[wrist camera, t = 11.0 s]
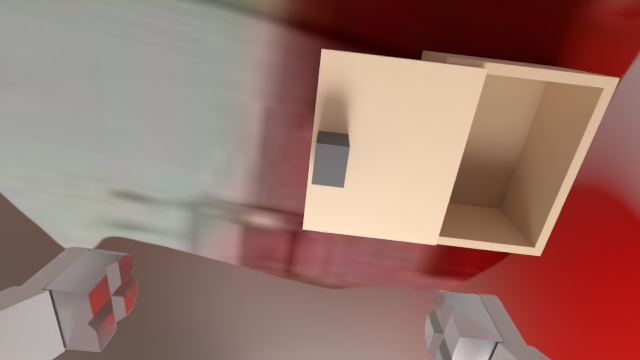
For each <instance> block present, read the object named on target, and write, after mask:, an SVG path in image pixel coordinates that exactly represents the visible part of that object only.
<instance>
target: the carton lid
mask: <svg viewBox="0 0 640 360" xmlns="http://www.w3.org/2000/svg"><path fill="white" fill-rule="evenodd" d="M487 70H488V69H486V68H480V67H472V66H463V65H455V64H447V63H438V62H430V61H422V60H413V59H405V58H397V57H388V56H380V55H372V54H364V53H355V52H347V51H339V50H330V49H322V51H321V61H320V70H319V80H318V89H317V99H316V108H315V118H314V127H313V137H312V146H311V156H310V165H309V175H308V184H307V194H306V203H305V213H304V223H303V229H304V230H313V231H321V232H329V233H338V234H346V235H355V236H363V237H372V238H380V239H388V240H397V241H405V242H414V243H422V244H431V245H436V244H437V240H438V237H439V233H440V230H441V227H442V223H443V220H444V216H445V213H446V210H447V206H448V203H449V199H450V196H451V193H452V189H453V186H454V182H455V179H456V176H457V172H458V169H459V165H460V162H461V159H462V155H463V152H464V148H465V145H466V142H467V138H468V135H469V132H470V128H471V125H472V121H473V118H474V115H475V111H476V108H477V104H478V101H479V98H480V94H481V91H482V87H483V84H484V81H485V77H486V74H487Z"/></svg>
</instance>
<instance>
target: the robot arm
mask: <svg viewBox="0 0 640 360" xmlns="http://www.w3.org/2000/svg"><path fill="white" fill-rule="evenodd" d="M134 267H135V264H134V259H133V256H131V255H130V254H127V253H120V252H113V251H105V250H98V249H89V248H82V247H70V248H67V249H66V250H65V251H63V252H62V253H61V254H60V255H59V256H57V257H56V258H55V259H54V260H53V261H51V262H50V263H49V264H48V265H46V266H45V267H44V268H43V269H41V270H40V271H39V272H38V273H37V274H36V275H34V276H33V277H32V278H31V279H29V280H28V281H27V282H26V283H24V284H23V285H22V286H21V287H11V288H8V289H6V290H3V291H0V360H52V359H53V358H55V357H56V356H58V355H59V354H61V353H62V352H64V351H65V349H72V350H83V351H95V352H101V351H102V349H103V348H104V346H105V345H106V344H107V342H108V341H109V339H110V338H111V337H112V335H113V334H114V333H115V331H116V323H115V322H117V321H119V320H120V319H122V318H124V317H126V316H127V315H128V313H129V312H130V310H131V309H132V307H133V305H134V302H135V299H136V297H137V288H138V287H137V280H136V279H135V278H134V277H133V276H132V274H131V273H130V272H131V271H132V270H133V268H134ZM432 302H433V305H434V308H435V309H434V310H433V311H432V312H430V313H429V314H428V316H427V320H426V324H425V339H426V344H427V348H428V351H429V352H430V353H431V354H432V355H433V356H434V357H435V360H550V359H549V358H548V357H546V356H545V355H544V354H542V353H541V352H540V351H538V350H537V349H536V348H534V347H533V346H527V345H526V343H525V342H524V340H523V339H522V337H521V335H520V333H519V332H518V330H517V328H516V327H515V325H514V324H513V322H512V320H511V319H510V317H509V315H508V313H507V312H506V310H505V308H504V307H503V305H502V303H501V302H500V300H499V299H498V298H497V297H496V296H495V295H487V294H476V293H475V294H471V293H461V292H453V291H444V290H437V291H436V293H435V294H434V297H433V300H432Z"/></svg>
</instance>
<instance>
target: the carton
mask: <svg viewBox="0 0 640 360" xmlns="http://www.w3.org/2000/svg"><path fill="white" fill-rule="evenodd" d="M421 60H422V61H430V62H438V63H447V64H455V65H463V66H472V67H480V68H486V69H488V70H487V74H486V77H485V81H484V84H483V87H482V91H481V94H480V98H479V101H478V104H477V108H476V111H475V115H474V118H473V121H472V125H471V128H470V132H469V135H468V138H467V142H466V145H465V148H464V152H463V155H462V159H461V162H460V165H459V169H458V172H457V176H456V179H455V182H454V186H453V189H452V193H451V196H450V199H449V203H448V206H447V210H446V213H445V216H444V220H443V223H442V227H441V230H440V233H439V237H438V240H437V244H443V245H451V246H460V247H468V248H477V249H485V250H494V251H502V252H510V253H519V254H527V255H536V256H540V255H541V253H542V251H543V249H544V246H545V244H546V242H547V239H548V237H549V235H550V233H551V231H552V228H553V226H554V224H555V222H556V219H557V217H558V215H559V213H560V210H561V208H562V206H563V204H564V201H565V199H566V197H567V195H568V192H569V190H570V188H571V186H572V184H573V181H574V179H575V177H576V175H577V173H578V170H579V168H580V166H581V164H582V161H583V159H584V157H585V154H586V153H587V150H588V148H589V146H590V144H591V141H592V139H593V137H594V135H595V132H596V130H597V128H598V126H599V123H600V121H601V119H602V117H603V114H604V112H605V110H606V108H607V106H608V103H609V101H610V99H611V97H612V94H613V92H614V90H615V88H616V86H617V83H618V81H619V79H620V78H616V77H610V76H605V75H600V74H594V73H589V72H584V71H578V70H573V69H568V68H562V67H557V66H548V65H540V64H532V63H523V62H515V61H507V60H499V59H490V58H482V57H474V56H465V55H457V54H449V53H440V52H432V51H424V50H423V52H422V57H421Z"/></svg>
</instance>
